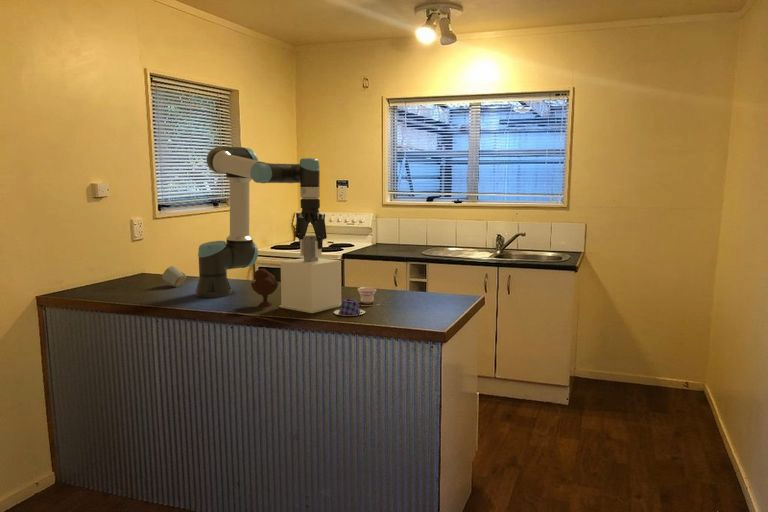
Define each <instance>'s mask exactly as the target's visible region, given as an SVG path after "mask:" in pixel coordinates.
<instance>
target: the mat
mask: <svg viewBox="0 0 768 512" xmlns="http://www.w3.org/2000/svg"><path fill="white" fill-rule="evenodd" d="M278 306H279V307H278V308H281V309H286V310H293V311H297V312H305V313H310V314H315V313H319V312H323V311H327V310H331V309H335V308H338V307H341V304H340V305H336V306H332V307H328V308H323V309H319V310H315V311H308V310H302V309H297V308H291V307H286V306H281V304H280V305H278Z"/></svg>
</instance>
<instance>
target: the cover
mask: <svg viewBox="0 0 768 512" xmlns="http://www.w3.org/2000/svg"><path fill="white" fill-rule="evenodd" d="M316 239H317V238H316V235H315V234H314V235H312V234H311V235H309V234H308V235H305V236H303V242H304V256H303V257H302V258H296V259H295V258H294V259H289V260H283V261H280V286H281V287H280V289H281V290H280V292H281V293H280V294H281V295H280V299H281V302H280V303H281V304H280V305H281V306H286V307H291V308H297V309H302V310H308V311H315V310H319V309H323V308H328V307H332V306H336V305H340V304H341V303H342V260H339V259H331V258H322V257H317V258H316V257H315V241H316Z"/></svg>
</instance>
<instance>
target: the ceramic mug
mask: <svg viewBox="0 0 768 512" xmlns="http://www.w3.org/2000/svg"><path fill="white" fill-rule="evenodd" d="M186 278H187V275H186V274H185V273H184V272H183V271H181V270H179V269H177V268H176V267H175V265H171V266H169V267H167V268H166V269H165V270H164V271H163V273H162V276H161V279H162V280H164V281H165V282H167V283H168V284H170V285H171V286H172V287H174V288H178V287H180V286H181V285H182V284H184V282H185V280H186Z"/></svg>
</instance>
